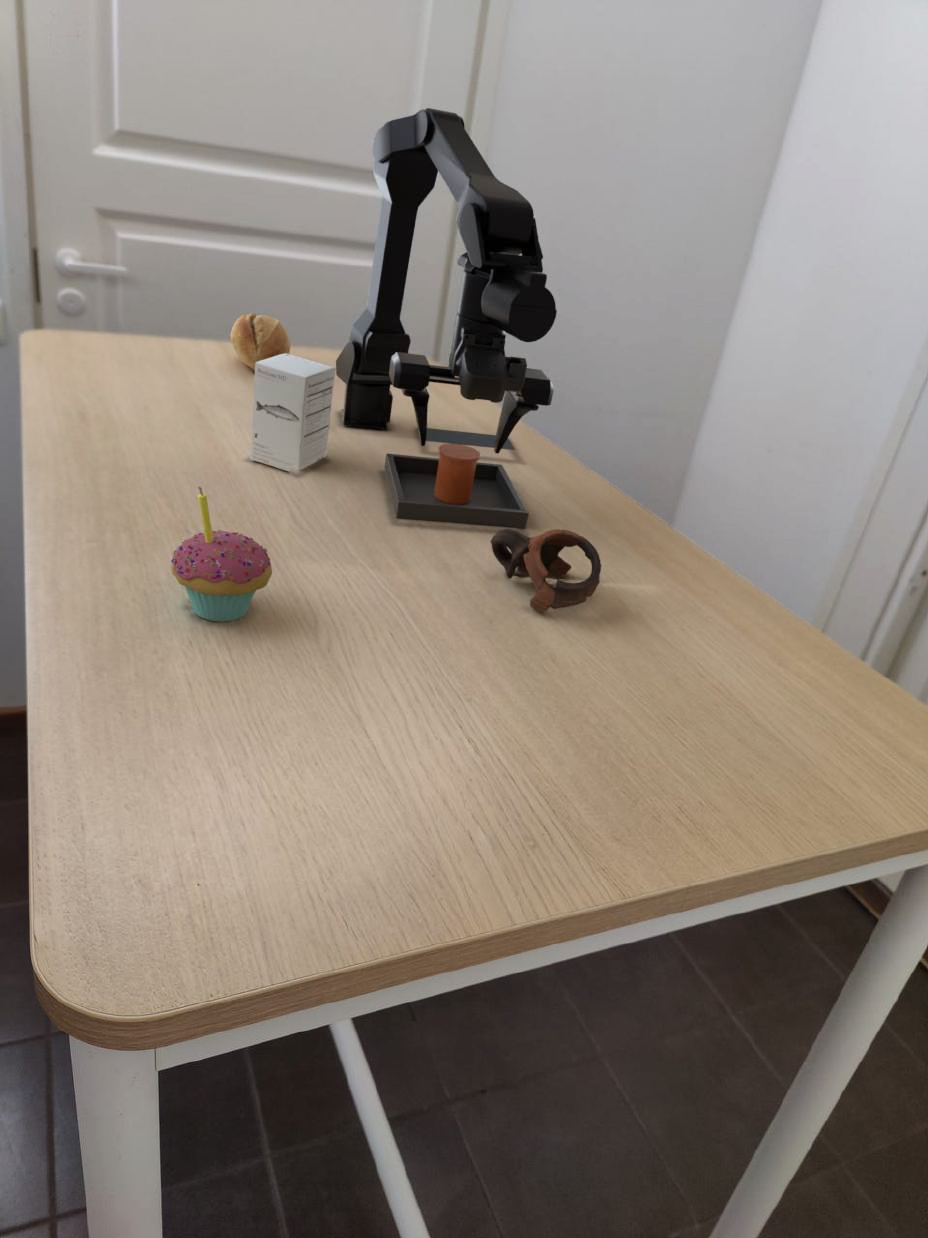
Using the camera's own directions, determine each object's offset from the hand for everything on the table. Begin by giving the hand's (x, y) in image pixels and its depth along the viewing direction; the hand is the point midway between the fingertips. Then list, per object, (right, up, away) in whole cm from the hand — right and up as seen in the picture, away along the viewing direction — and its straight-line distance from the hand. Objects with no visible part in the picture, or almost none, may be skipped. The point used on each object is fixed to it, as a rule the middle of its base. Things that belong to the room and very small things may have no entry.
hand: (459, 448), depth 107 cm
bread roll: (-34, +22, +42) cm, 58 cm away
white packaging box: (-22, 0, +7) cm, 23 cm away
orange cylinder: (-1, -5, +3) cm, 6 cm away
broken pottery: (+8, -18, -14) cm, 24 cm away
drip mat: (+1, +5, +23) cm, 24 cm away
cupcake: (-22, -20, -27) cm, 40 cm away
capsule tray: (-1, -6, +3) cm, 7 cm away
